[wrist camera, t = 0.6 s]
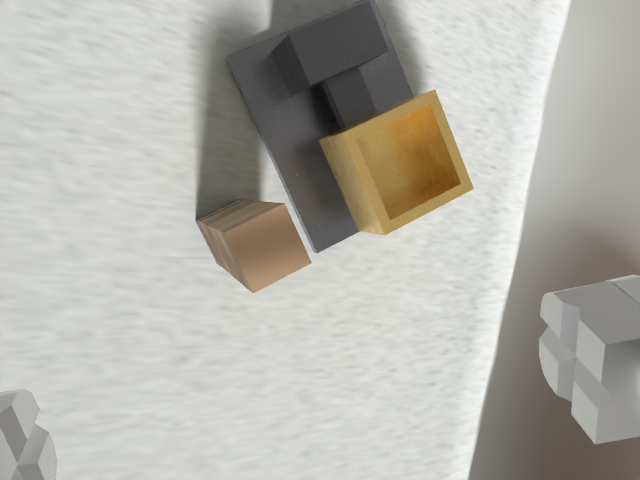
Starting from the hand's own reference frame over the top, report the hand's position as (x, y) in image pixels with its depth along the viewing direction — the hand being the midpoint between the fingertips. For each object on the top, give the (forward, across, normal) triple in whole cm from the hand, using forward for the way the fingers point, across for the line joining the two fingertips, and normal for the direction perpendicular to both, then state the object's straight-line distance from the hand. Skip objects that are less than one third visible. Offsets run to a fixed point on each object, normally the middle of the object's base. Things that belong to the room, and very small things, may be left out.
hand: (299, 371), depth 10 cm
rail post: (+39, +4, +14) cm, 42 cm away
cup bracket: (+44, -8, +8) cm, 45 cm away
